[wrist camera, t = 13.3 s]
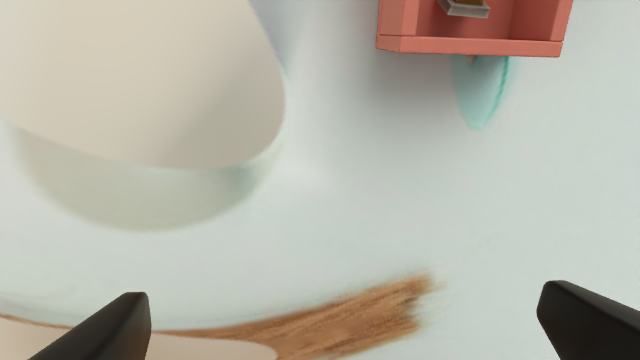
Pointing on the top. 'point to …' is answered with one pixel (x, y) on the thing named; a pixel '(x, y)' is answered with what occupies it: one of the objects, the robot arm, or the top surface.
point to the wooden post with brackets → (465, 8)
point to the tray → (474, 28)
